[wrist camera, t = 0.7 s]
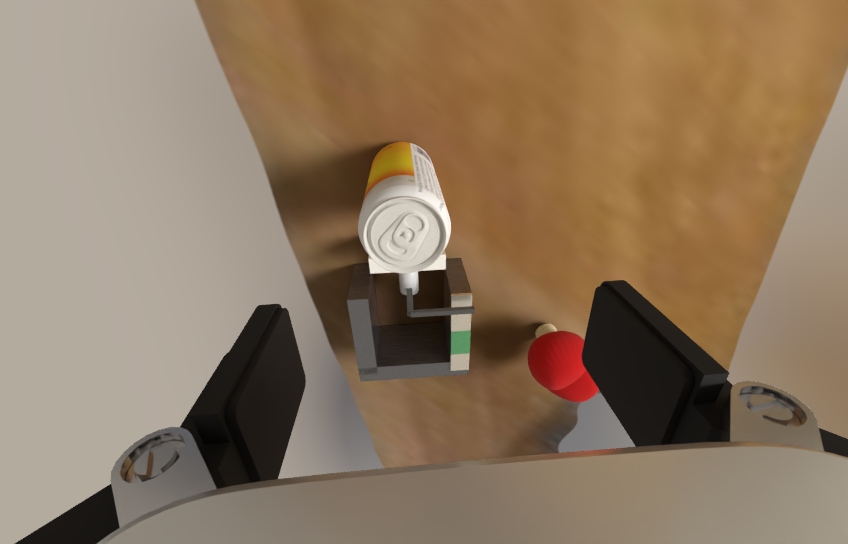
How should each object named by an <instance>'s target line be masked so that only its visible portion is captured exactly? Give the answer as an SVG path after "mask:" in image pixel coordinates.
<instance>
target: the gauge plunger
mask: <svg viewBox="0 0 848 544" xmlns="http://www.w3.org/2000/svg"><path fill="white" fill-rule="evenodd" d="M368 260H369V268H370V274H373V273H391V271H388V270H386V269H384V268H382V267H381V266H379V265H378V264H377V263H375V262H374V261H373V260H372V258H371V257H370V256H369V258H368ZM443 269H446V253H445V249H444V251H443V252H442V254H441V255H440V257H439V258H438V259H437V260H436V261H435V262H434V263H433V264H432V265H431V266H429V267H427V268H426V269H424V270H421V271H426V270H443ZM399 283H400V292H401V293H402V294H403V295H407V316H411V317H426V316H443V315H459V314H474V306H467V307H451V308H435V309H418V310H414V309H413V295H414V294H416V293H418V291H419V282H418V272H415V273H406V274H404V273H399Z"/></svg>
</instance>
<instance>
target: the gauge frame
mask: <svg viewBox="0 0 848 544" xmlns="http://www.w3.org/2000/svg"><path fill="white" fill-rule="evenodd" d="M347 305H348V311H349V317H350V322H351V328H352V334H353V340H354V346H355V352H356V358H357V364H358V370H359V375H360V381H374V380H389V379H404V378H418V377H433V376H447V375H462V374H468V370H469V354H470V336H471V314H459V315H443V322H434V323H418V324H402V325H386V326H380V325H379V316H378V308H377V299H376V291H375V282H374V274H370V268H369V263H366V264H354V268H353V273H352V277H351V282H350V287H349V292H348V297H347ZM467 306H472V292H471V289H470V286H469V283H468V279H467V276H466V273H465V270H464V266H463V263H462V260H461V258H455V259H446V269H443V308H451V307H467Z"/></svg>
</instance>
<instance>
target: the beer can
mask: <svg viewBox="0 0 848 544" xmlns="http://www.w3.org/2000/svg"><path fill="white" fill-rule="evenodd" d="M358 233H359V238H360V241H361V244H362V246H363V248H364V249H365V251H366V252H367V253H368V254H369V256H370V257H371V258H372V260H373V261H374V262H375V263H377V264H378V265H379V266H381V267H382V268H384V269H386V270H388V271H391V272H395V273H404V274H406V273H415V272H418V271H421V270H424V269H426V268H427V267H429V266H431V265H432V264H433V263H434V262H435V261H436V260H437V259H438V258H439V257H440V255H441V254H442V252H443V251H444V249H445V248H446V246H447V244H448V241H449V238H450V233H451V222H450V217H449V214H448V211H447V208H446V205H445V202H444V198H443V195H442V192H441V189H440V186H439V183H438V180H437V177H436V173H435V170H434V167H433V164H432V161H431V159H430V157H429V156H428V155H427V153H426V152H425V151H424V150H423V149H422V148H420V147H419V146H417V145H415V144H412V143H408V142H396V143H392V144H389V145H387V146H386V147H384V148H383V149H381V150H380V151H379V152H378V154H377V155H376V157H375V158H374V160H373V163H372V166H371V171H370V175H369V179H368V183H367V188H366V192H365V196H364V200H363V205H362V209H361V213H360V217H359V222H358Z"/></svg>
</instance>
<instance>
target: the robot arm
mask: <svg viewBox="0 0 848 544" xmlns="http://www.w3.org/2000/svg"><path fill="white" fill-rule="evenodd" d="M582 362H583V365H584V367H585V369H586V370H587V372H588V373H589V375H590V376H591V378H592V379H593V381H594V382H595V384H596V386H597V387H598V389H599V390H600V392H601V393H602V395H603V396H604V398H605V399H606V401H607V403H608V404H609V406H610V407H611V409H612V410H613V412H614V413H615V415H616V416H617V418H618V419H619V421H620V423H621V424H622V426H623V427H624V429H625V430H626V432H627V433H628V435H629V436H630V438H631V439H632V441H633V443H634V444H635V446H636V447H628V448H616V449H604V450H593V451H581V452H580V451H579V452H567V453H554V454H542V455H531V456H519V457H507V458H496V459H484V460H473V461H461V462H450V463H438V464H427V465H416V466H406V467H395V468H384V469H373V470H362V471H351V472H341V473H331V474H321V475H312V476H303V477H293V478H284V479H278V476H279V473H280V469H281V466H282V463H283V459H284V456H285V452H286V449H287V446H288V442H289V439H290V436H291V432H292V429H293V426H294V422H295V419H296V416H297V412H298V409H299V405H300V402H301V399H302V395H303V392H304V389H305V374H304V370H303V366H302V362H301V358H300V354H299V350H298V347H297V343H296V339H295V335H294V331H293V328H292V324H291V320H290V316H289V312H288V310H287V309H286V308H281V306H280V305H279V304H271V305H259V306H258V307H257V308H256V309H255V311H254V313H253V314H252V316H251V317H250V319H249V321H248V323H247V324H246V325H245V327H244V329H243V330H242V332H241V334H240V335H239V337H238V339H237V340H236V342H235V343H234V345H233V347H232V348H231V350H230V351H229V353H227V354H226V355H225V356H224V357H223V359H222V360H221V362H220V364H219V366H218V367H217V369H216V370H215V372H214V373H213V375H212V377H211V378H210V380H209V381H208V383H207V385H206V386H205V388H204V390H203V391H202V393H201V394H200V396H199V397H198V399H197V401H196V402H195V404H194V405H193V407H192V409H191V410H190V412H189V414H188V415H187V417H186V418H185V420H184V421H183V423H182V425H181V426H180V427H169V428H165V429H161V430H158V431H156V432H153V433H151V434H149V435H146V436H145V437H143V438H142V439H140V440H138V441H137V442H135V443H134V444H133V445H132V446H131V447H129V448H128V449H127V450H126V451H125V452H124V453H123V454H122V455H121V457H120V458H119V459H118V460H117V461H116V463H115V465H114V467H113V469H112V472H111V484H110V485H108V486H107V487H105V488H104V489H102V490H101V491H99V492H97V493H96V494H94V495H93V496H91V497H89V498H88V499H86V500H85V501H83V502H81V503H80V504H78V505H76V506H75V507H73V508H71V509H70V510H68V511H67V512H65V513H63V514H62V515H61V516H59V517H57V518H56V519H54V520H52V521H51V522H49V523H47V524H46V525H44V526H43V527H41V528H39V529H38V530H36V531H34V532H33V533H31V534H30V535H28V536H26V537H25V538H23V539H22V540H20V541H18V542H17V543H15V544H848V439H846V438H844V437H841V436H838V435H836V434H833V433H830V432H828V431H825V430H823V429H820V428H819V427H818V422H817V419H816V418H815V415H814V413H813V412H812V411H811V410H810V409H809V408H808V407H807V405H805V404H804V403H803V402H802V401H800V400H799V399H798V398H796V397H795V396H793V395H791V394H789V393H787V392H785V391H784V390H782V389H779V388H777V387H774V386H771V385H768V384H764V383H760V382H754V381H742V382H738V383H736V384H734V385H732V384H731V383H730V382H729V381H727V380H726V379H727V377H728V375H729V372H728V371H726V370H725V369H724V368H723V367H722V366H721V365H720V364H719V363H717V362H716V361H715V360H714V359H713V358H712V357H711V356H710V355H708V354H707V353H706V352H705V351H704V350H703V349H702V348H701V347H699V346H698V345H697V344H696V343H695V342H694V341H693V340H692V339H690V338H689V337H688V336H687V335H686V334H685V333H684V332H682V331H681V330H680V329H679V328H678V327H677V326H676V325H675V324H673V323H672V322H671V321H670V320H669V319H668V318H667V317H666V316H664V315H663V314H662V313H661V312H660V311H659V310H658V309H657V308H655V307H654V306H653V305H652V304H651V303H650V302H649V301H648V300H646V299H645V298H644V297H643V296H642V295H641V294H640V293H639V292H637V291H636V290H635V289H634V288H633V287H632V286H631V285H630V284H628V283H627V282H626V281H624V280H618V281H604V282H603V283H602V284H601V286H599V287H597V288H596V290H595V294H594V299H593V303H592V308H591V313H590V317H589V322H588V327H587V332H586V336H585V341H584V346H583V351H582Z"/></svg>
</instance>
